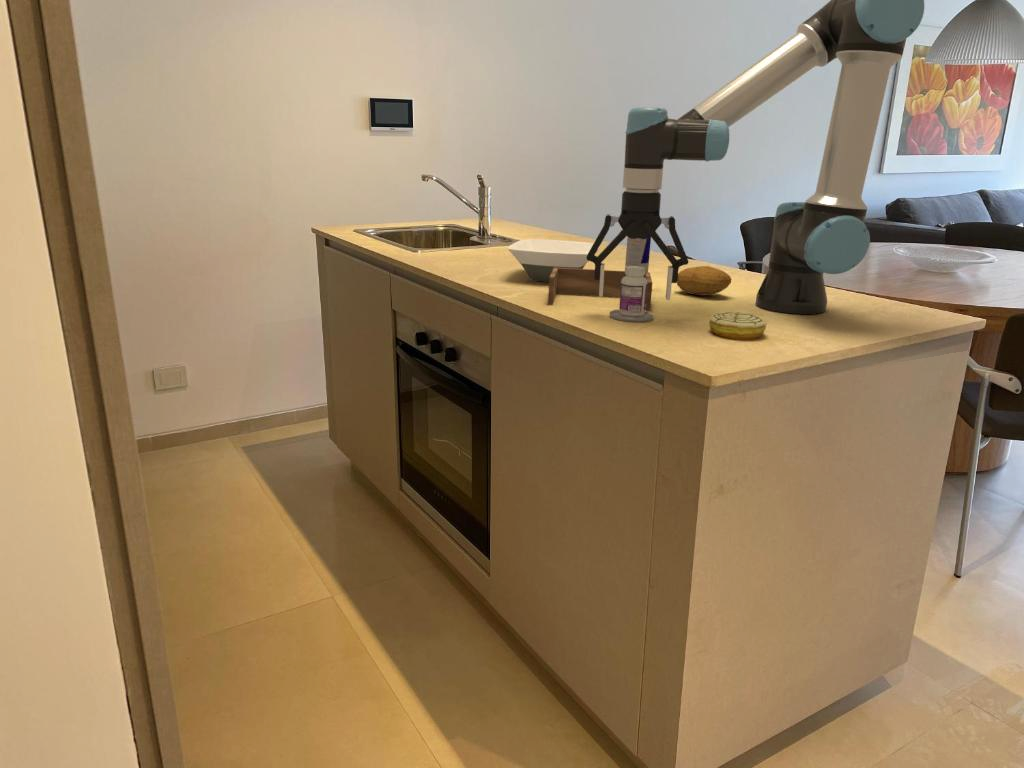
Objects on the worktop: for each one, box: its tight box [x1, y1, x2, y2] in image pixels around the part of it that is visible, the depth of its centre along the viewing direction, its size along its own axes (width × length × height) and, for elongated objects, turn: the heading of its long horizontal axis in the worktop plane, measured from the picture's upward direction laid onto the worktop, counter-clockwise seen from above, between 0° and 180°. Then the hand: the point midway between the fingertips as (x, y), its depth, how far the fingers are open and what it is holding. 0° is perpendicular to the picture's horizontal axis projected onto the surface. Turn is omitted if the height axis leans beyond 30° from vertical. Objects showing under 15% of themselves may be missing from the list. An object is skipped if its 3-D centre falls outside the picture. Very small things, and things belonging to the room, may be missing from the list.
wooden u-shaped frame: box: [547, 267, 653, 312], centre depth 172 cm, size 14×22×6 cm, turn 83°
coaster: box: [609, 309, 654, 323], centre depth 159 cm, size 9×9×1 cm
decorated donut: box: [708, 311, 768, 340], centre depth 148 cm, size 10×11×4 cm
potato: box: [676, 265, 732, 296], centre depth 183 cm, size 9×13×7 cm
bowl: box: [507, 238, 602, 283], centre depth 197 cm, size 22×23×8 cm
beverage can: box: [624, 236, 652, 272], centre depth 186 cm, size 6×6×15 cm
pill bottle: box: [618, 266, 648, 317], centre depth 158 cm, size 5×5×10 cm
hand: (634, 297), depth 158 cm, fingers open, 13 cm apart
